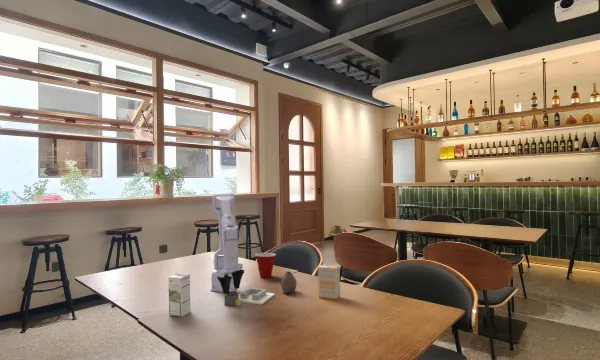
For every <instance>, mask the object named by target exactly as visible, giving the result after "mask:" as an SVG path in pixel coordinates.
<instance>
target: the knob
mask: <svg viewBox="0 0 600 360" xmlns="http://www.w3.org/2000/svg"><path fill="white" fill-rule="evenodd" d="M239 294H240V292H237V288H236V289H230V290H229V294H225V295H224V306H226V307H227V306H228V307H229V306H230V307H235V306H237V307H238V306H240V305H241V302H240V299H239Z"/></svg>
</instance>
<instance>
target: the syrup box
mask: <svg viewBox="0 0 600 360" xmlns="http://www.w3.org/2000/svg"><path fill="white" fill-rule="evenodd" d="M167 281H168V282H167V283H168V316H173V317H180V318H182V317H184V316H186V315H188V314H190V313H191V311H192V308H191V274H190V273H181V272H180V273H174V274H172V275H170V276H168V280H167Z"/></svg>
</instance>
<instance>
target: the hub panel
mask: <svg viewBox="0 0 600 360" xmlns="http://www.w3.org/2000/svg"><path fill="white" fill-rule="evenodd" d="M275 296H276V293H275V292H274V293H273V292H267V289H265V288H256V287H248V288H247V289H245V290H244V291H242V292H239V299H240V303H246V304H253V305H260V306H263V305H264V304H265V303H266V302H268V301H269V300H270V299H272V298H273V297H275Z"/></svg>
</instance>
